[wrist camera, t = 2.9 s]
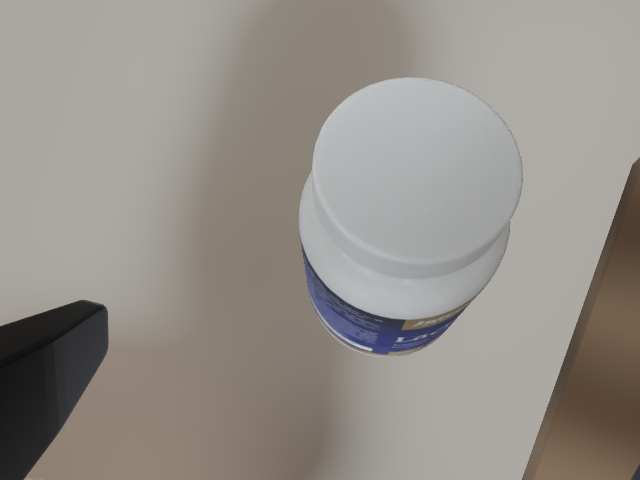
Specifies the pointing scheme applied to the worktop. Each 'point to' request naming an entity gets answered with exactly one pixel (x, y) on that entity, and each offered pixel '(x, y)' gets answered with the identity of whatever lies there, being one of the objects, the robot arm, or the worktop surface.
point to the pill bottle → (406, 212)
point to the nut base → (600, 367)
